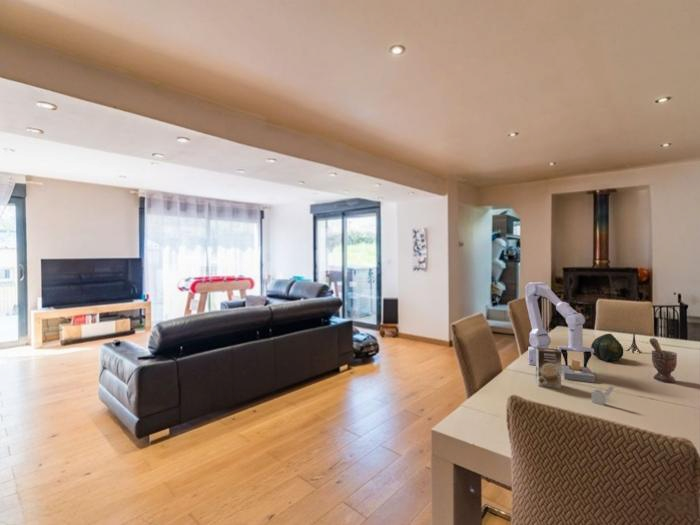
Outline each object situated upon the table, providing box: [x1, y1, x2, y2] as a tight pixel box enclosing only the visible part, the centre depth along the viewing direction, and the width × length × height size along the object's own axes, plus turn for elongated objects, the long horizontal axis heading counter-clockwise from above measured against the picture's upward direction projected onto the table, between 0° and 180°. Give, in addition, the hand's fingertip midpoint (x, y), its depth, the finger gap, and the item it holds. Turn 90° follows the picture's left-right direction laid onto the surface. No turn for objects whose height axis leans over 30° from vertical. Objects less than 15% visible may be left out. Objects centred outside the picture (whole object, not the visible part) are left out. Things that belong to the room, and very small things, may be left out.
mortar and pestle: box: [648, 337, 678, 384], centre depth 158 cm, size 12×9×20 cm
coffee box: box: [535, 347, 562, 389], centre depth 155 cm, size 9×6×16 cm
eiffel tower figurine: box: [626, 331, 642, 354], centre depth 206 cm, size 15×10×13 cm
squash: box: [590, 333, 624, 362], centre depth 192 cm, size 14×15×15 cm
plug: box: [570, 358, 581, 371], centre depth 168 cm, size 3×4×6 cm
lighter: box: [591, 384, 615, 406], centre depth 134 cm, size 7×2×8 cm, turn 43°
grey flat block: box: [561, 363, 596, 383], centre depth 166 cm, size 12×14×3 cm
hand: (575, 366), depth 168 cm, fingers open, 7 cm apart
